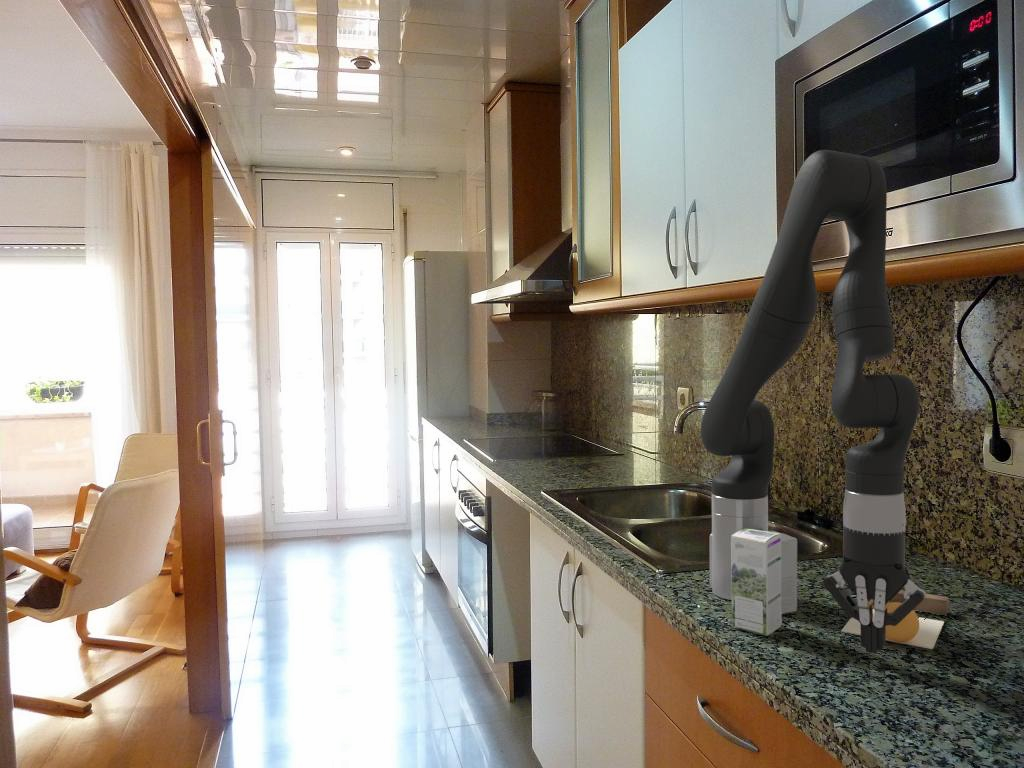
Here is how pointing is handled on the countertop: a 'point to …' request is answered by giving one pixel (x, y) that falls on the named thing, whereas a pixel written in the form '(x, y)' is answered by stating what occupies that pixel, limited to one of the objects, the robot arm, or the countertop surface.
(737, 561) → the syrup box
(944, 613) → the stop rail
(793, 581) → the skincare box
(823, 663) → the countertop surface
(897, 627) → the ball
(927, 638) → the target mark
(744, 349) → the robot arm
